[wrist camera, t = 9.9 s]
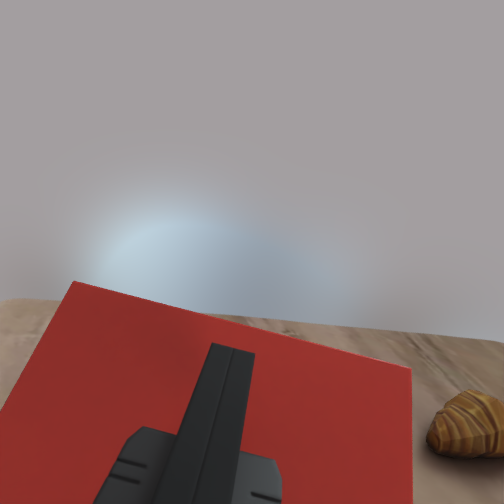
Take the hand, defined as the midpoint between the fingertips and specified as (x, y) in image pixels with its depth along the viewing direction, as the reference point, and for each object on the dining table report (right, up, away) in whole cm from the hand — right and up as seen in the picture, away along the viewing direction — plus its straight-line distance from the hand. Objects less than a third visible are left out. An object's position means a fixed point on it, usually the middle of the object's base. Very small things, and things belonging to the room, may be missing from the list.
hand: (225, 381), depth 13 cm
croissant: (+22, -14, +24) cm, 35 cm away
